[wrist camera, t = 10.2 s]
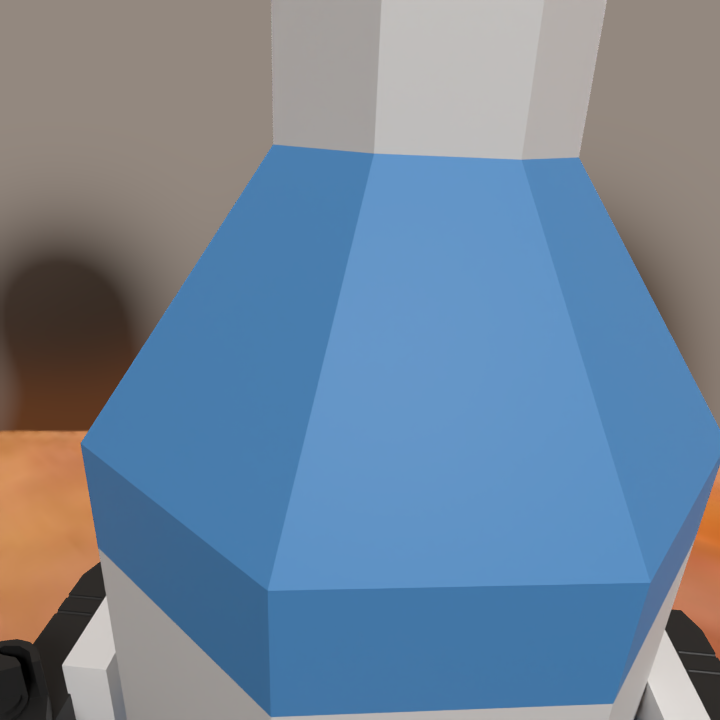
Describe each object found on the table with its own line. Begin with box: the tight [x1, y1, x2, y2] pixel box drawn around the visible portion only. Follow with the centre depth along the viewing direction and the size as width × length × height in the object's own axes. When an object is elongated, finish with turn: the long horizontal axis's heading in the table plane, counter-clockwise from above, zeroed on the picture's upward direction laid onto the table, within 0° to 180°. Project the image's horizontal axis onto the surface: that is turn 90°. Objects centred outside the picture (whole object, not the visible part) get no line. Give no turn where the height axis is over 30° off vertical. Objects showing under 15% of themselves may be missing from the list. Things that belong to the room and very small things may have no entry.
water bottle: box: [81, 0, 720, 720], centre depth 12 cm, size 9×9×25 cm
